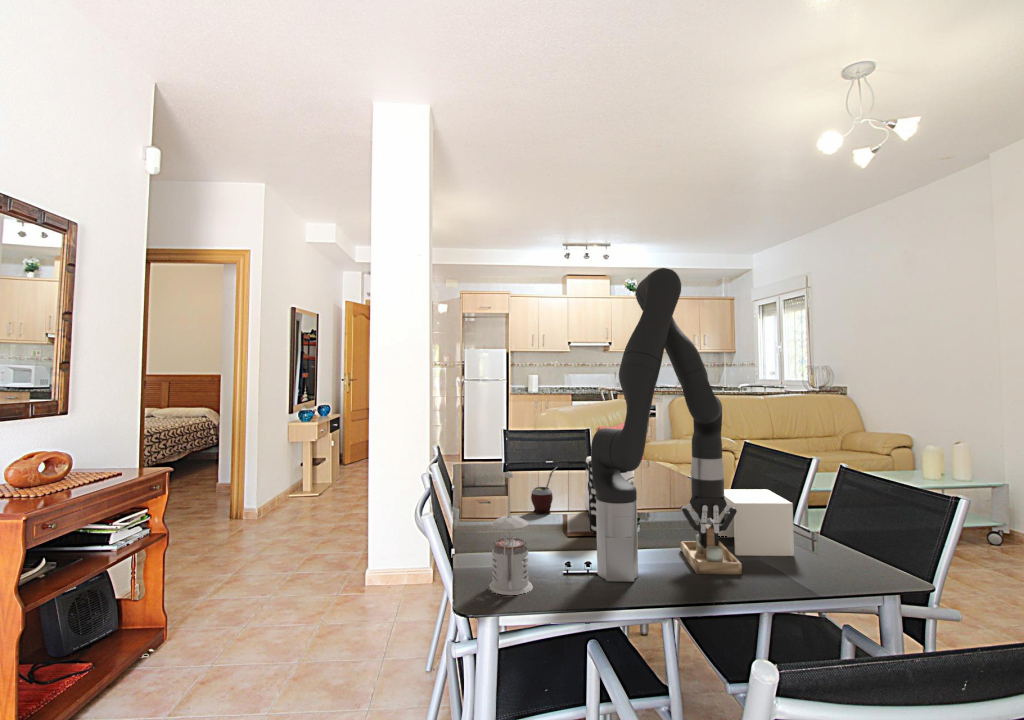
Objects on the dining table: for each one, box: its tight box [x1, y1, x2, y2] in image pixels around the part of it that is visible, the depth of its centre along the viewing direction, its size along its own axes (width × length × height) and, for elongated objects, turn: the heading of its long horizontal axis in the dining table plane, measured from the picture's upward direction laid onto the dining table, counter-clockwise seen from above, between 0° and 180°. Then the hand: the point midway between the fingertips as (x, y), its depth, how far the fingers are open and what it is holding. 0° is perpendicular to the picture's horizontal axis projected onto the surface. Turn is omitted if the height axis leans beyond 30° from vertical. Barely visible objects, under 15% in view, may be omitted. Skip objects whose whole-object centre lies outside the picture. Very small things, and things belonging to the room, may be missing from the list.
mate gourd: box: [530, 466, 559, 516], centre depth 181 cm, size 8×8×15 cm
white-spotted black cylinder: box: [588, 461, 597, 534], centre depth 159 cm, size 8×8×20 cm
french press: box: [488, 471, 534, 596], centre depth 118 cm, size 10×12×25 cm
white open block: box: [718, 488, 795, 557], centre depth 144 cm, size 16×14×13 cm
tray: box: [679, 523, 743, 575], centre depth 132 cm, size 16×10×8 cm, turn 176°
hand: (709, 547), depth 132 cm, fingers closed on tray
